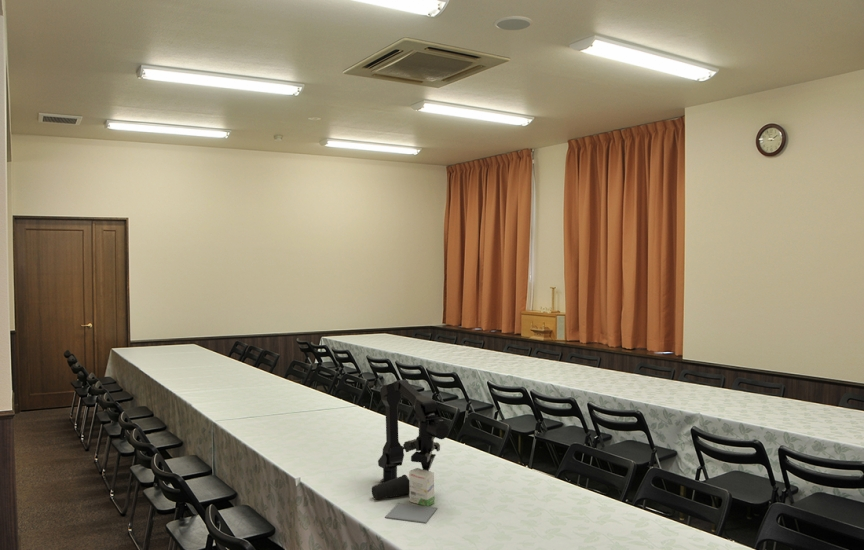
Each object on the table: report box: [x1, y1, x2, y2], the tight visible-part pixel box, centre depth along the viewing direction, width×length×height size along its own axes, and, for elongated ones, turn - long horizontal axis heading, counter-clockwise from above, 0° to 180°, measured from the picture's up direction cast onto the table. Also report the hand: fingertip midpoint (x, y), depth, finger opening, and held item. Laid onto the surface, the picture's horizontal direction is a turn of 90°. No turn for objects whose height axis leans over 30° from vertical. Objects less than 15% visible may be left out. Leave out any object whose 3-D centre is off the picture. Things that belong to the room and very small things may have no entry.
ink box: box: [408, 467, 435, 507], centre depth 237 cm, size 8×5×12 cm, turn 52°
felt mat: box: [384, 502, 438, 524], centre depth 226 cm, size 14×15×1 cm
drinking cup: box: [371, 474, 410, 500], centre depth 245 cm, size 8×8×20 cm
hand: (425, 474), depth 241 cm, fingers closed
